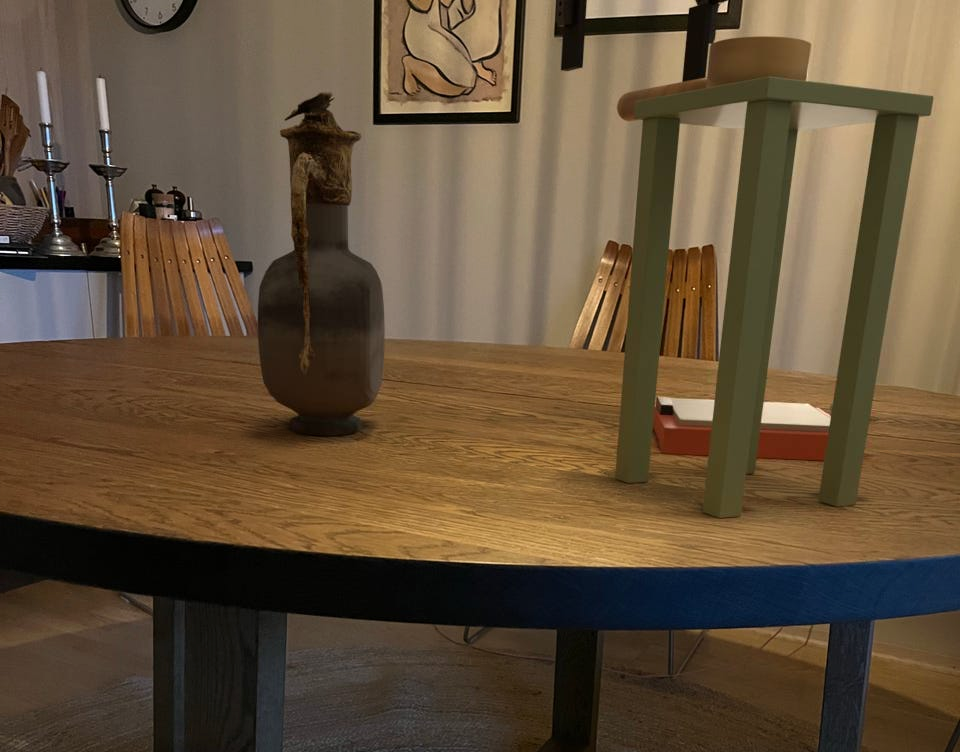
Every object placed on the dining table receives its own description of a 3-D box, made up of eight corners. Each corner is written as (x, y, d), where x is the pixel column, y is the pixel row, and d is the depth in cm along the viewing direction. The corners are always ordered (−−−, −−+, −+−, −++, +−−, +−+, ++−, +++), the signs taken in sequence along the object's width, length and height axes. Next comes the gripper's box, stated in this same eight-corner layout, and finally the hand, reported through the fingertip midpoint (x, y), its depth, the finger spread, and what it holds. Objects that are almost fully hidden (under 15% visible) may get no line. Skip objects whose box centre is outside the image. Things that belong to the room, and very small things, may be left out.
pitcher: (390, 419, 111) (389, 106, 100) (364, 452, 93) (360, 76, 82) (289, 415, 111) (278, 103, 100) (244, 448, 93) (224, 73, 82)
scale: (815, 430, 112) (820, 398, 111) (857, 462, 96) (863, 425, 94) (649, 422, 114) (652, 391, 112) (662, 453, 97) (665, 416, 96)
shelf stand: (865, 506, 79) (934, 95, 69) (717, 520, 73) (768, 75, 63) (741, 467, 92) (783, 116, 81) (606, 477, 86) (634, 101, 76)
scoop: (825, 101, 73) (833, 42, 72) (748, 92, 70) (754, 31, 69) (655, 125, 90) (659, 78, 89) (587, 118, 87) (590, 69, 86)
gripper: (742, -159, 98) (716, 92, 105) (508, -216, 87) (497, 67, 95) (797, -185, 91) (765, 84, 99) (551, -250, 81) (536, 56, 89)
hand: (634, 77), depth 97 cm, fingers open, 13 cm apart
